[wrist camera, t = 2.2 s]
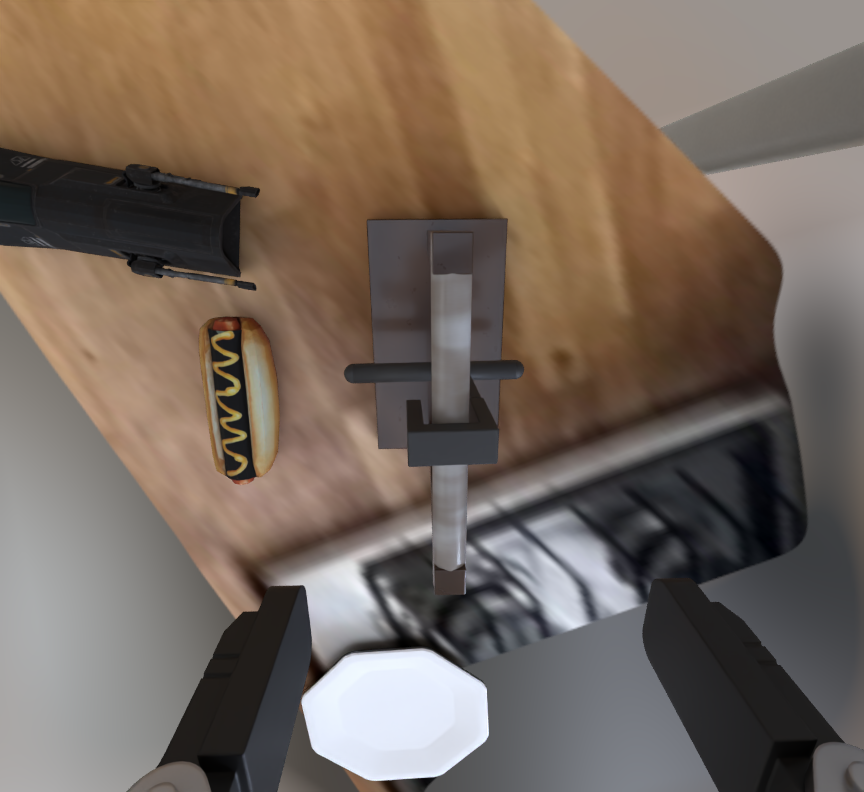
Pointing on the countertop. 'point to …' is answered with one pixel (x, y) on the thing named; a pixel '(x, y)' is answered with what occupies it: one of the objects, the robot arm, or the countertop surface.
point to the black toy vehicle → (123, 215)
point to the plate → (396, 713)
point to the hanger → (449, 439)
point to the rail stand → (437, 347)
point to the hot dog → (240, 397)
